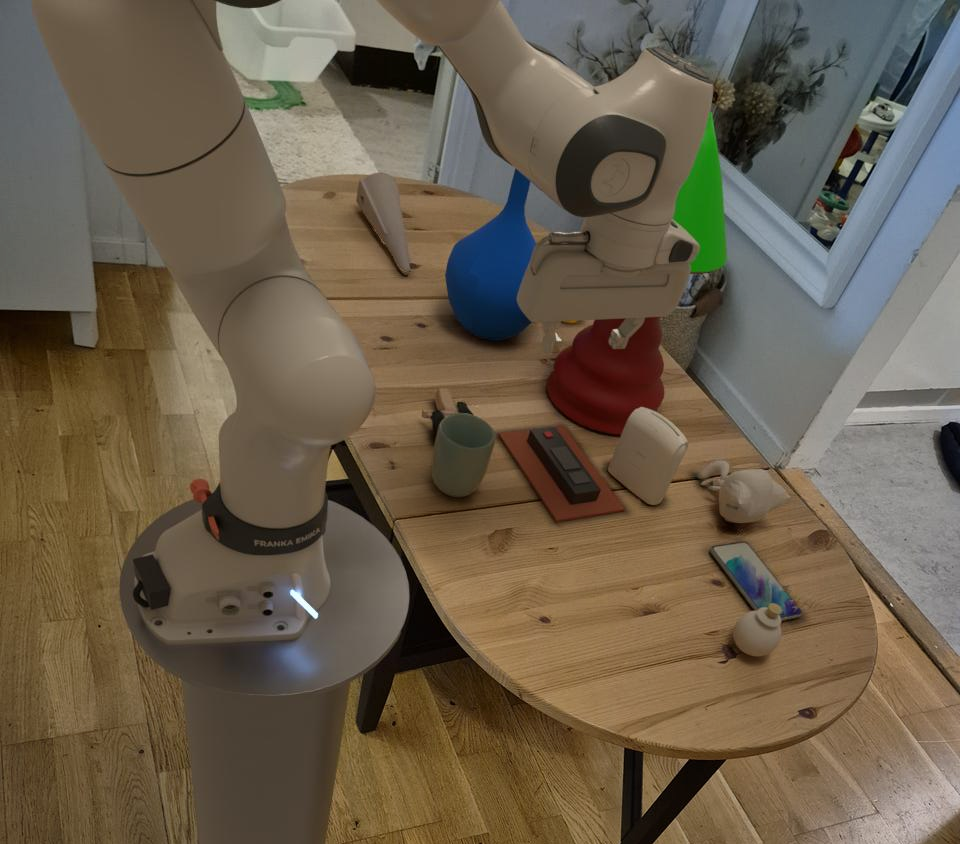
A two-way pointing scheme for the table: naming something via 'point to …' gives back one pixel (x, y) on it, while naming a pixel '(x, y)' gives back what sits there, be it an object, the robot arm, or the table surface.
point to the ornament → (759, 630)
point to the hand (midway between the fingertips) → (583, 348)
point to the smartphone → (754, 578)
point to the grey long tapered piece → (385, 214)
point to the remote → (563, 465)
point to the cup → (461, 453)
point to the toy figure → (444, 408)
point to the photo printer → (648, 455)
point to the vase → (493, 270)
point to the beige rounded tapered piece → (744, 492)
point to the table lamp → (637, 369)
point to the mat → (548, 486)
